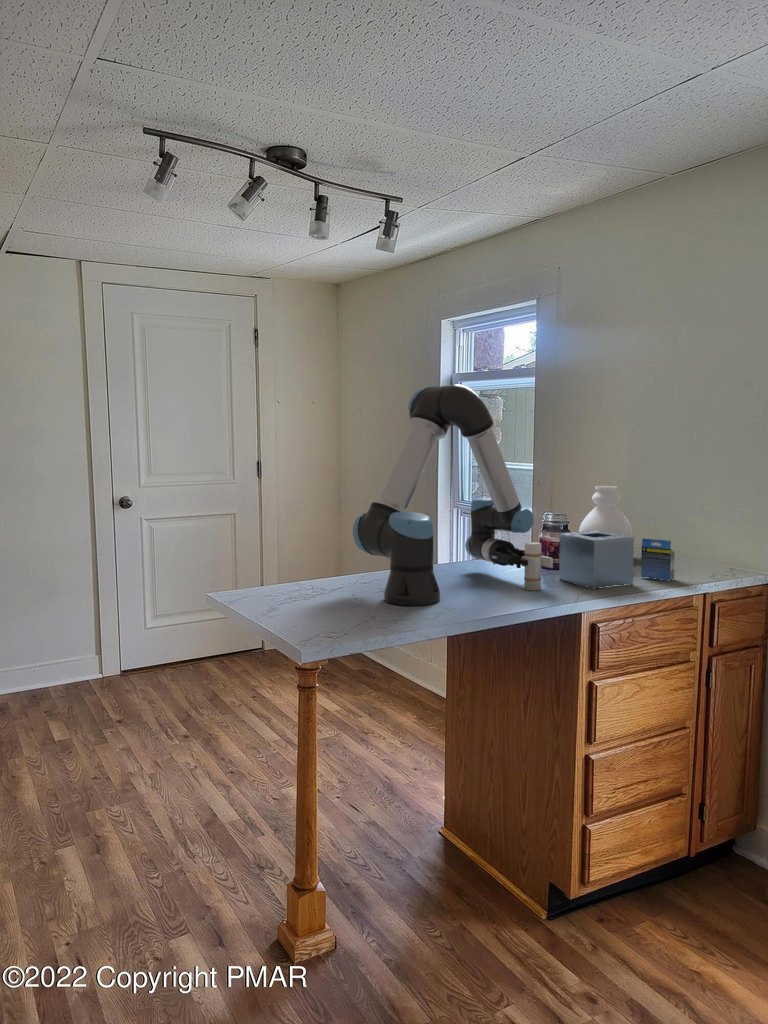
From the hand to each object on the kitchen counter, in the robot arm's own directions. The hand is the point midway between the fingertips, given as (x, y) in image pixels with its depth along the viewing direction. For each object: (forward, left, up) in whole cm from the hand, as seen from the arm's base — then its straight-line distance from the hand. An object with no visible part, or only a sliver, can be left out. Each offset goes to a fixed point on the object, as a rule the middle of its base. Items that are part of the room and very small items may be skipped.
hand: (543, 563), depth 204 cm
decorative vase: (+52, +37, -9) cm, 65 cm away
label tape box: (+41, 0, -9) cm, 42 cm away
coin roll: (0, +5, -8) cm, 10 cm away
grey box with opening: (+22, +5, -8) cm, 24 cm away
